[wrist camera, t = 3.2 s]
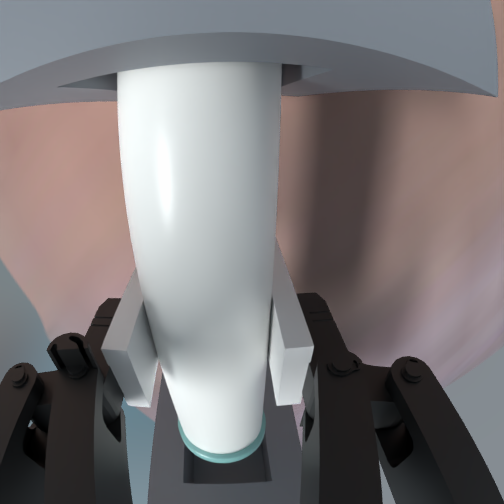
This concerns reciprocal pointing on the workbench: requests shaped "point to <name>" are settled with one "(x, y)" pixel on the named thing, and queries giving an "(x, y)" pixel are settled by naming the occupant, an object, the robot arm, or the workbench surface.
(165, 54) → the sleeve
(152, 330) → the tube
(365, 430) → the robot arm
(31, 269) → the workbench surface
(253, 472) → the socket block
